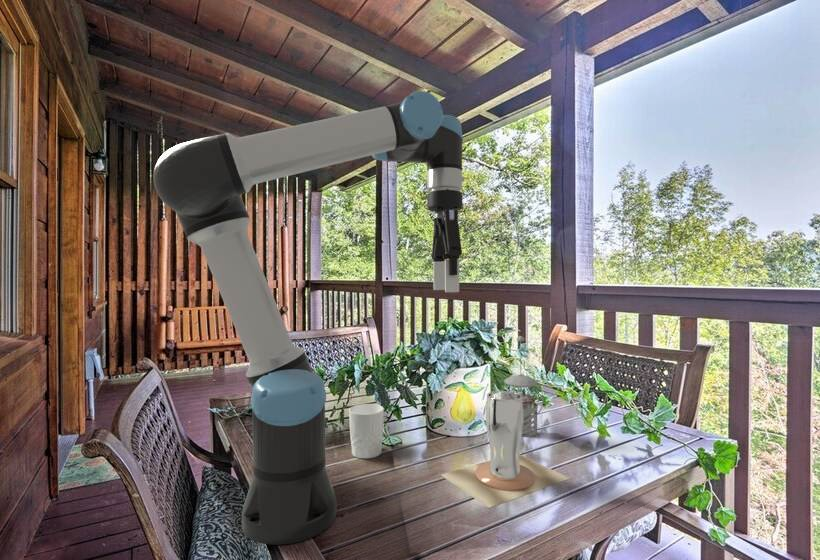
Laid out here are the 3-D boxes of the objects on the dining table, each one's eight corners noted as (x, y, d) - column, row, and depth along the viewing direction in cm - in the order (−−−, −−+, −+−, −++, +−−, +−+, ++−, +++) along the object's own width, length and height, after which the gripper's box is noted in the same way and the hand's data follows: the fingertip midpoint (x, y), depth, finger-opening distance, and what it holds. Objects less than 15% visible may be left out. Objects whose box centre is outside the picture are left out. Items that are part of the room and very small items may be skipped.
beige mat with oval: (488, 516, 72) (488, 507, 72) (440, 482, 84) (440, 474, 84) (570, 486, 82) (569, 478, 82) (516, 459, 94) (516, 452, 94)
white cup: (342, 456, 97) (341, 411, 97) (361, 443, 104) (361, 402, 104) (372, 462, 93) (371, 416, 93) (390, 449, 100) (390, 406, 100)
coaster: (484, 492, 77) (484, 489, 77) (469, 465, 88) (469, 462, 88) (544, 488, 78) (544, 485, 78) (521, 462, 89) (521, 459, 89)
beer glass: (496, 484, 79) (496, 401, 79) (480, 468, 85) (480, 392, 85) (530, 479, 81) (530, 398, 80) (512, 463, 87) (512, 389, 87)
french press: (492, 433, 110) (492, 335, 109) (527, 426, 115) (527, 332, 115) (519, 447, 101) (518, 340, 101) (555, 438, 106) (555, 336, 106)
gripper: (477, 179, 81) (478, 293, 81) (450, 201, 106) (450, 289, 106) (437, 178, 80) (438, 293, 80) (419, 201, 105) (420, 289, 105)
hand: (445, 291), depth 93 cm, fingers open, 13 cm apart
